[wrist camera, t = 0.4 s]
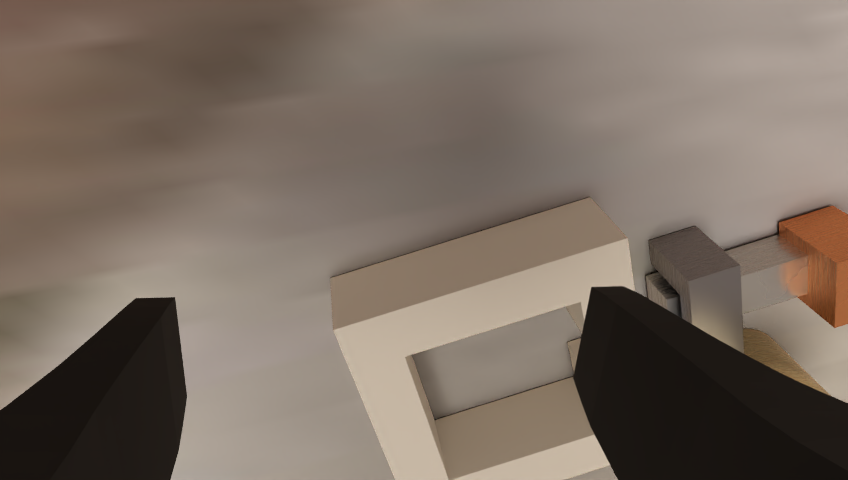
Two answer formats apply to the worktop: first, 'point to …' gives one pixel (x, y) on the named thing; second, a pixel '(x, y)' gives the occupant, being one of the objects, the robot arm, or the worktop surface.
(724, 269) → the block
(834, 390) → the worktop surface
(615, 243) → the dock
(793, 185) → the worktop surface
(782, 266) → the pin
